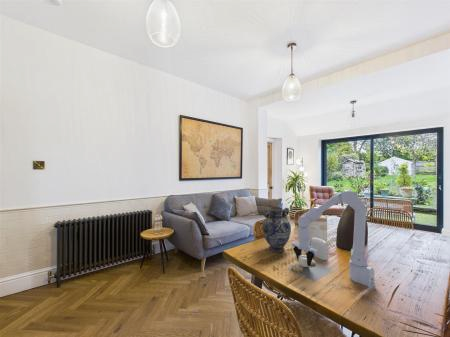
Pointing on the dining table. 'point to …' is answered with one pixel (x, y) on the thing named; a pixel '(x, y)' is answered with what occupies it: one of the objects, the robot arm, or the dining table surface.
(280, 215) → the decorative vase
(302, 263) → the octagonal pipe segment
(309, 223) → the robot arm
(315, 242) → the photo printer
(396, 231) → the dining table surface
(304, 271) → the gear board
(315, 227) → the coffeecake box
